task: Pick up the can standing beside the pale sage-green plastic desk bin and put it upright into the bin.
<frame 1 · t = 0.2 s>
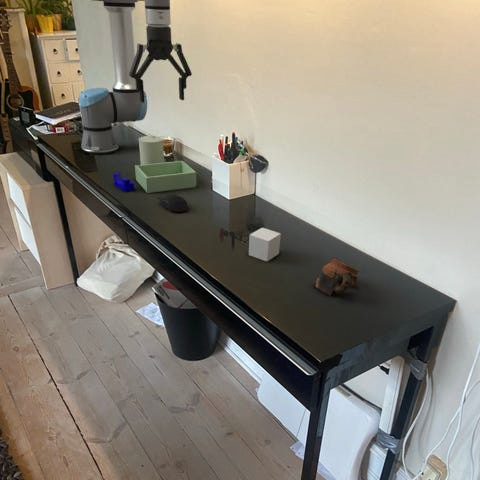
hand: (162, 100, 161), 28 cm above the table, tool pointing down, fingers open, 13 cm apart
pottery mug: (336, 289, 119), on the table
can: (153, 170, 188), on the table
white cube: (263, 254, 133), on the table
cable holder: (124, 188, 171), on the table
gaming mouse: (171, 205, 159), on the table
bin: (166, 183, 176), on the table
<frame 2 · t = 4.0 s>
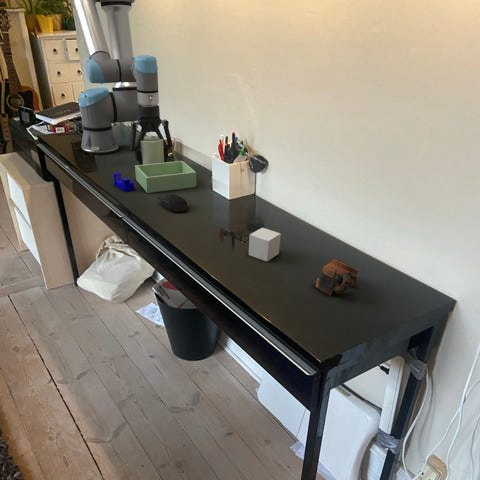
hand: (152, 167, 187), 1 cm above the table, tool pointing down, fingers closed on can, 9 cm apart
can: (153, 170, 188), on the table, touching gripper
everything else where it was.
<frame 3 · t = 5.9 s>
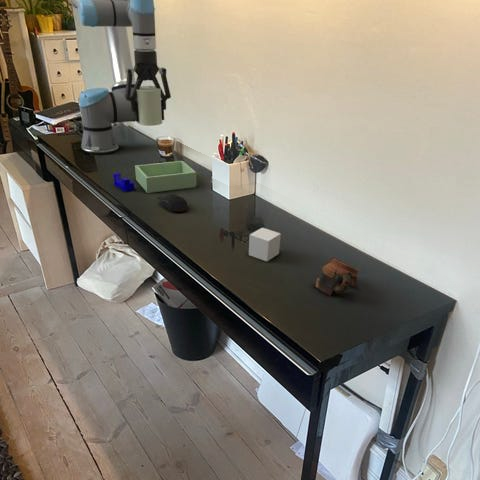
hand: (149, 120, 178), 18 cm above the table, tool pointing down, fingers closed on can, 9 cm apart
can: (149, 123, 178), point 17 cm above the table, touching gripper
everything else where it was.
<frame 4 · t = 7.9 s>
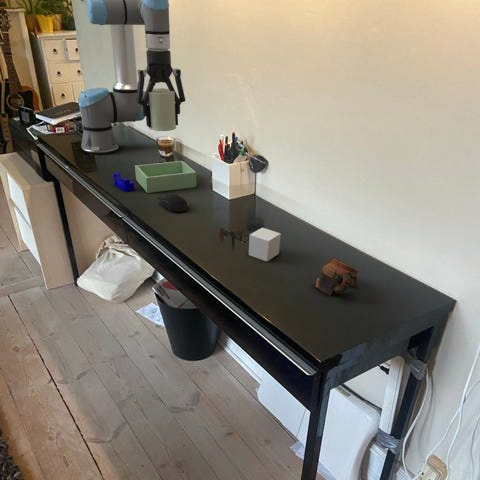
hand: (162, 125, 165), 20 cm above the table, tool pointing down, fingers closed on can, 9 cm apart
can: (162, 128, 165), point 19 cm above the table, touching gripper
everything else where it was.
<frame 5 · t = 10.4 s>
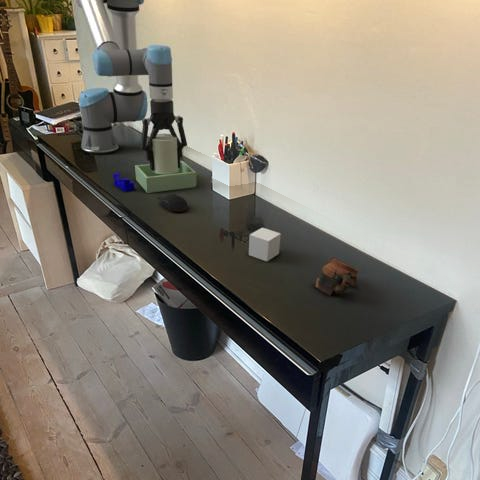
hand: (165, 168, 172), 6 cm above the table, tool pointing down, fingers closed on can, 9 cm apart
can: (165, 170, 173), point 5 cm above the table, touching gripper
everything else where it was.
when the fingers open (2 cm above the table, at t = 12.0 s): can stays where it is, resting on bin.
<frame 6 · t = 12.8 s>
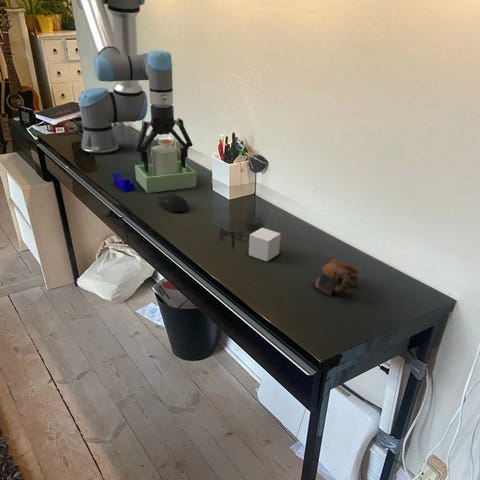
hand: (165, 168, 173), 5 cm above the table, tool pointing down, fingers open, 13 cm apart
can: (165, 181, 175), point 1 cm above the table, touching bin
everything else where it was.
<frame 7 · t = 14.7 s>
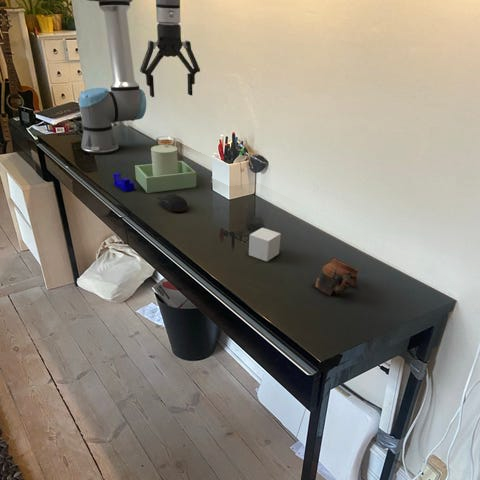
hand: (171, 95, 168), 28 cm above the table, tool pointing down, fingers open, 13 cm apart
nothing on the table moved.
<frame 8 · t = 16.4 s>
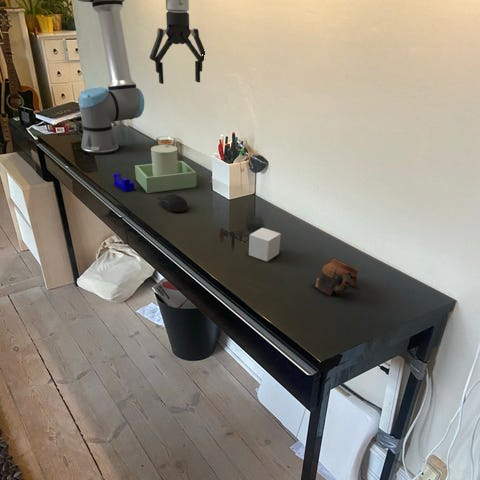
hand: (179, 82, 172), 31 cm above the table, tool pointing down, fingers open, 13 cm apart
nothing on the table moved.
at the end: can inside the target area in the bin (0.0 cm from its centre), point 0.6 cm above the bin's base; can tilted 0°; the gripper is holding nothing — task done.
